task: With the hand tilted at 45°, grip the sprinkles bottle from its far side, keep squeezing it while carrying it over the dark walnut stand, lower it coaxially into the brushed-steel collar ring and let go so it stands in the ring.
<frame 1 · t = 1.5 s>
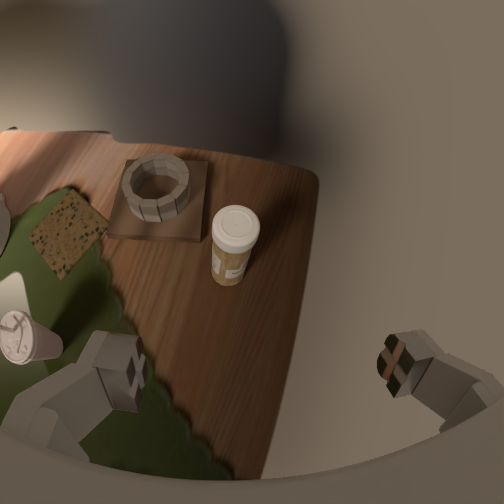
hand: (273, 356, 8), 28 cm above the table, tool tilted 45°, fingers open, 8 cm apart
collar stand: (159, 199, 41), on the table
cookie: (67, 232, 37), on the table
sprinkles bottle: (227, 271, 38), on the table
smoothie: (53, 345, 30), on the table
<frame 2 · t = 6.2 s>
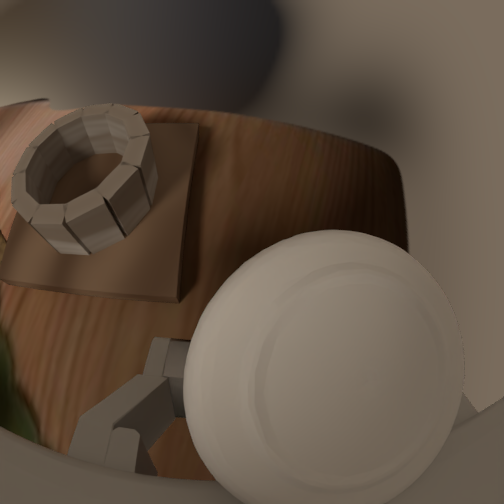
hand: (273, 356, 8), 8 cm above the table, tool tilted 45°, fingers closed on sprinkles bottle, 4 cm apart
collar stand: (98, 202, 18), on the table
sprinkles bottle: (245, 371, 15), on the table, touching gripper
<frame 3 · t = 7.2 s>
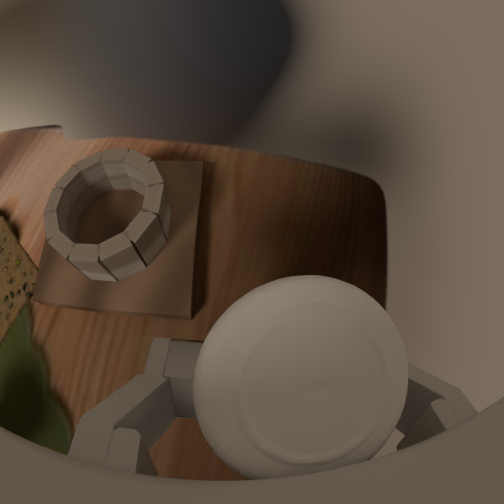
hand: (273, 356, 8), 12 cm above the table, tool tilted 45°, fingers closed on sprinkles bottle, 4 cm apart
collar stand: (119, 233, 22), on the table
sprinkles bottle: (242, 369, 17), point 2 cm above the table, touching gripper
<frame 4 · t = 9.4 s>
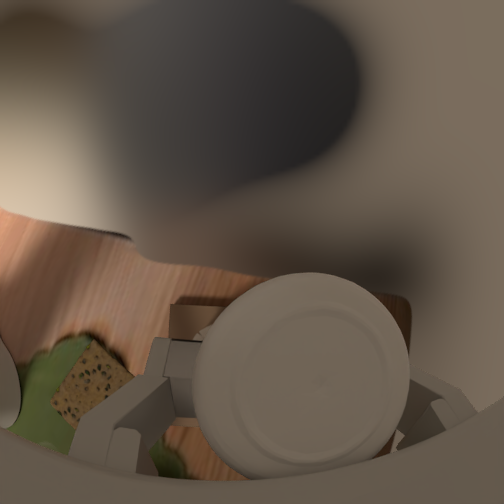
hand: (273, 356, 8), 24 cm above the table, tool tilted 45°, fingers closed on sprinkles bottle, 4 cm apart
collar stand: (230, 368, 30), on the table
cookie: (104, 404, 26), on the table
sprinkles bottle: (242, 368, 17), point 14 cm above the table, touching gripper
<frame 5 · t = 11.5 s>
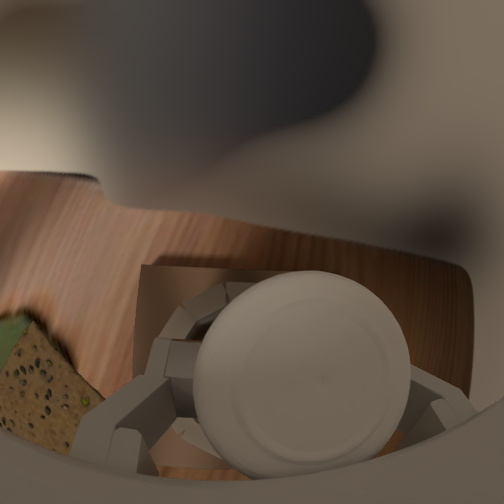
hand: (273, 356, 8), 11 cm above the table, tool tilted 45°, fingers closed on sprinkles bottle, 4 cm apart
collar stand: (238, 371, 18), on the table
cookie: (48, 419, 14), on the table
sprinkles bottle: (242, 370, 17), point 1 cm above the table, touching collar stand, gripper
when the fingers open (11 cm above the table, at t = 11.5 s): sprinkles bottle stays where it is, resting on collar stand.
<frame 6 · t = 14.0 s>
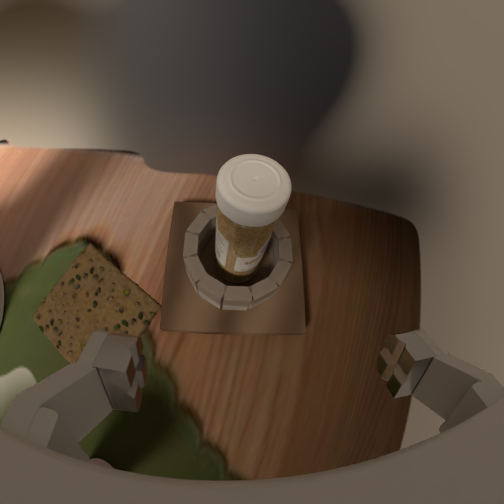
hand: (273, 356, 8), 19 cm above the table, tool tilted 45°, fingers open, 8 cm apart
collar stand: (234, 268, 29), on the table
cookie: (92, 314, 26), on the table
sprinkles bottle: (236, 263, 28), point 1 cm above the table, touching collar stand
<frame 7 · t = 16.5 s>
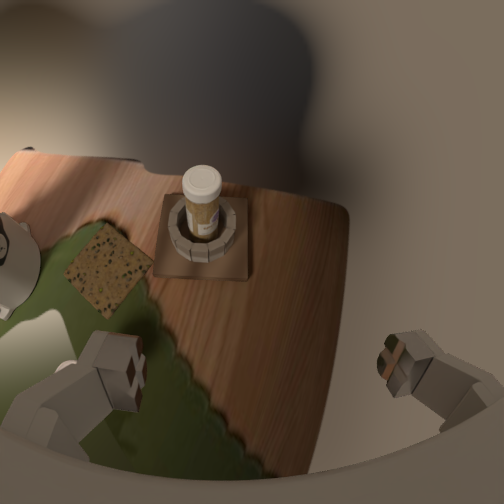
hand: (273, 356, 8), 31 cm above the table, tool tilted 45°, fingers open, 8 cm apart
collar stand: (202, 237, 44), on the table
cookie: (107, 269, 40), on the table
sprinkles bottle: (203, 233, 43), point 1 cm above the table, touching collar stand
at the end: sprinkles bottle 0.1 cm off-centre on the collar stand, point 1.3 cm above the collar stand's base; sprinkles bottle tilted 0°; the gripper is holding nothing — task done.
